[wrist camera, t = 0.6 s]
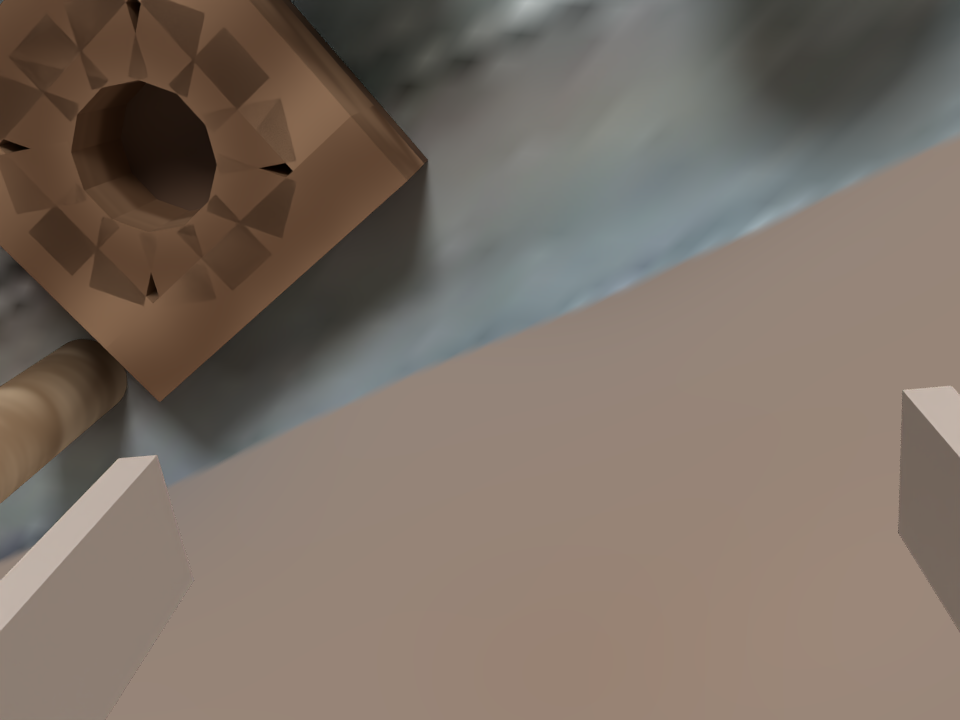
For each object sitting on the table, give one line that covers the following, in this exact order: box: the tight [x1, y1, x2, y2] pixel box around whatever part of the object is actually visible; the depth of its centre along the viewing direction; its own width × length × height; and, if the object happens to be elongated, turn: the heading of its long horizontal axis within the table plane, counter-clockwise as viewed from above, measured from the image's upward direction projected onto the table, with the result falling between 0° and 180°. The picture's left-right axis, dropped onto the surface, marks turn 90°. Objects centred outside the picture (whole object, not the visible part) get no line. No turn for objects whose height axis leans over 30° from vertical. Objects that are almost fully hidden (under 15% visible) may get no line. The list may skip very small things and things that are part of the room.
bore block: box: [0, 0, 428, 402], centre depth 36 cm, size 14×14×5 cm
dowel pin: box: [0, 339, 127, 503], centre depth 37 cm, size 4×4×12 cm
